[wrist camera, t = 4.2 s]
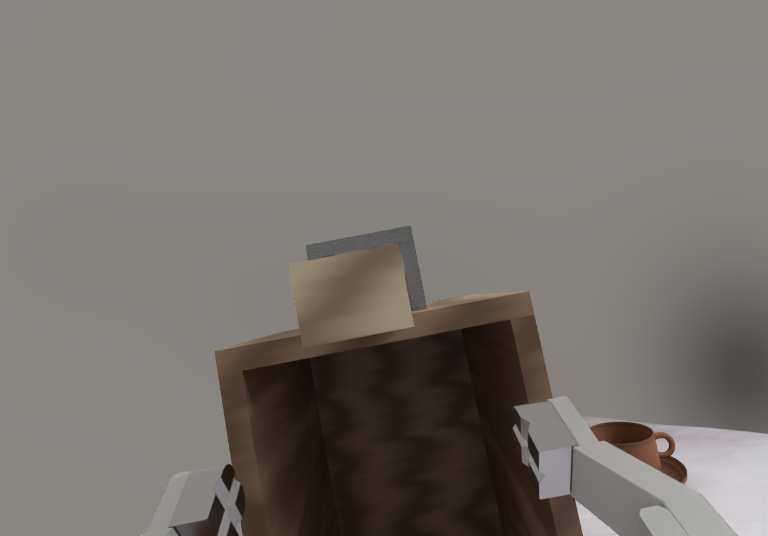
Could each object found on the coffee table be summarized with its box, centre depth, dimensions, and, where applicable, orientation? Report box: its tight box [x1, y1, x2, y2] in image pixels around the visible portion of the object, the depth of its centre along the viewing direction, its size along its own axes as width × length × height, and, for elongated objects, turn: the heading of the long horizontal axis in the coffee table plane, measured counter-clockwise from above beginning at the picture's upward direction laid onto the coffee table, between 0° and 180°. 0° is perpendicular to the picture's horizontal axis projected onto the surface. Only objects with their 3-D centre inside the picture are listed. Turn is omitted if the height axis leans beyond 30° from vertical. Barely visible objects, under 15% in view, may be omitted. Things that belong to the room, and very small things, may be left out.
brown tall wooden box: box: [215, 291, 583, 536], centre depth 34 cm, size 20×21×26 cm
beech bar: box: [289, 244, 414, 348], centre depth 28 cm, size 4×28×3 cm, turn 179°
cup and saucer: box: [590, 422, 687, 484], centre depth 49 cm, size 12×12×6 cm
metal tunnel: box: [306, 226, 427, 311], centre depth 33 cm, size 8×10×6 cm
